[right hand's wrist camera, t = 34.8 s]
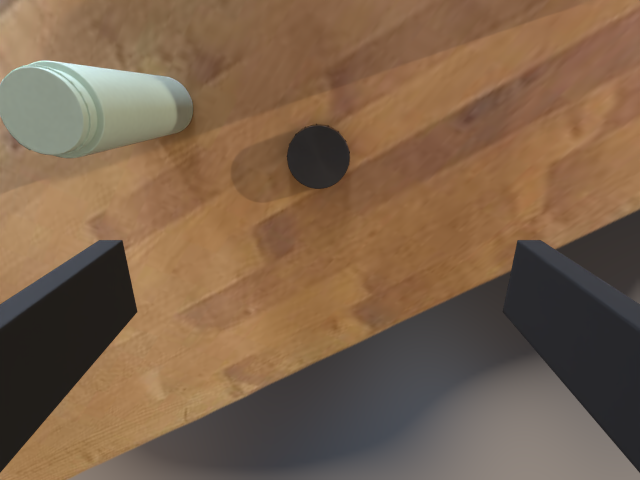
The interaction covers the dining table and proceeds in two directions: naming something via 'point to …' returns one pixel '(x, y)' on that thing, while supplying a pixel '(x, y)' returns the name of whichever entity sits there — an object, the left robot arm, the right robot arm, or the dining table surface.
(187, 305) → the dining table surface
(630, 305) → the right robot arm
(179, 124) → the jar
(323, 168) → the lid
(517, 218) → the dining table surface
